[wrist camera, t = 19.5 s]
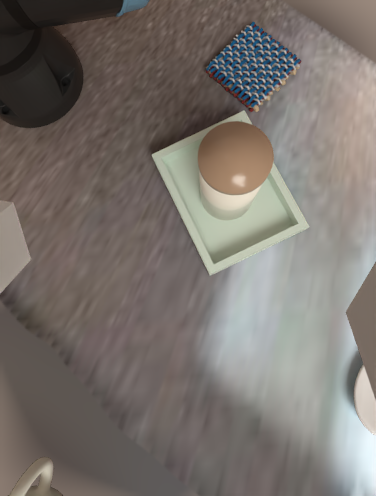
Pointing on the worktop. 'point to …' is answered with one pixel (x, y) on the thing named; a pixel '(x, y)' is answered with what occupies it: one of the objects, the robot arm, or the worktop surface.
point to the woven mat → (242, 60)
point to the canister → (233, 168)
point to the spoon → (365, 401)
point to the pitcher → (43, 492)
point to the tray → (227, 231)
